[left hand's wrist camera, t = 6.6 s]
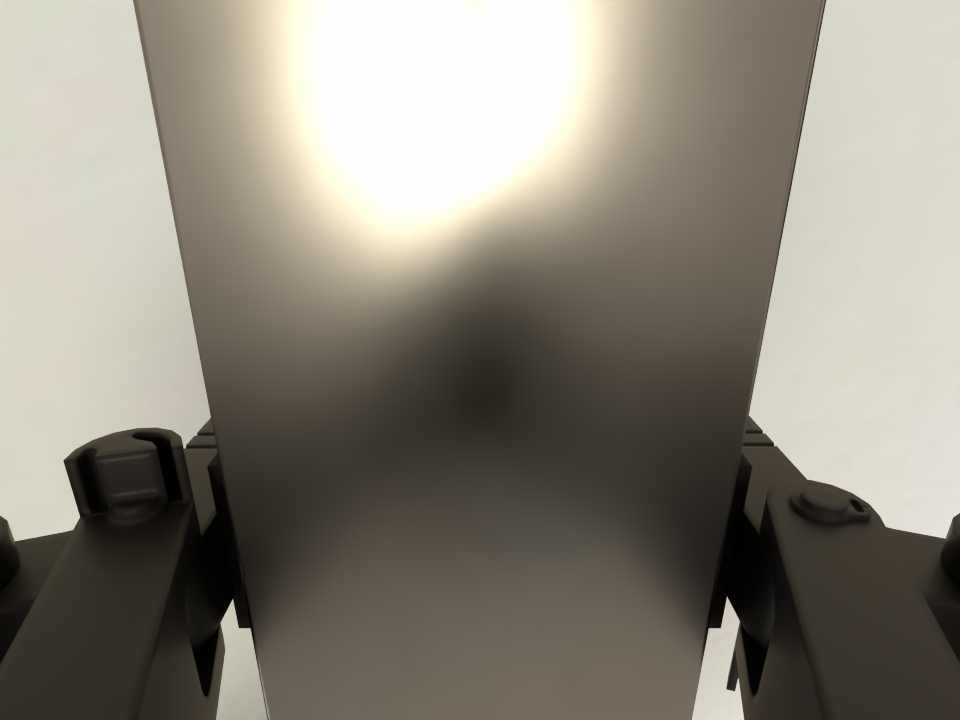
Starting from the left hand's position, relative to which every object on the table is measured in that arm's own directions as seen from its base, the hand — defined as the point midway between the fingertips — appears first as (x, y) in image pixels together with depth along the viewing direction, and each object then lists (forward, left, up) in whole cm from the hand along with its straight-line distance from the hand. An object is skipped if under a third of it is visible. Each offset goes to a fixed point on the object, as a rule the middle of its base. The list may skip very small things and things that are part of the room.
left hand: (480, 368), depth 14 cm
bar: (+6, +4, -1) cm, 7 cm away
